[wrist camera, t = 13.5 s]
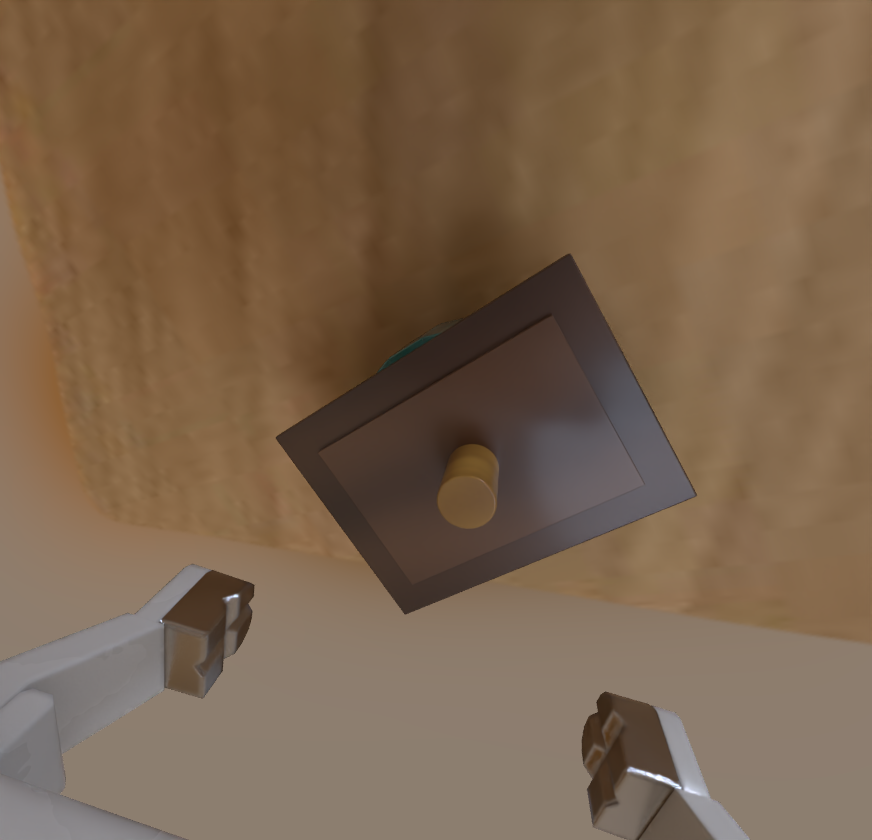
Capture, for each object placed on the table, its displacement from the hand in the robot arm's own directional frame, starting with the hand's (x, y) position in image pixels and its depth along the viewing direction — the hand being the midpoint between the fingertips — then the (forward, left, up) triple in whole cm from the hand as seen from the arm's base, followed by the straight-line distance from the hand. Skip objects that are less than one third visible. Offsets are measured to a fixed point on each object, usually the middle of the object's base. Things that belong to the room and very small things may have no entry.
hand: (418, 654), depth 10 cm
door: (+1, 0, -12) cm, 12 cm away
